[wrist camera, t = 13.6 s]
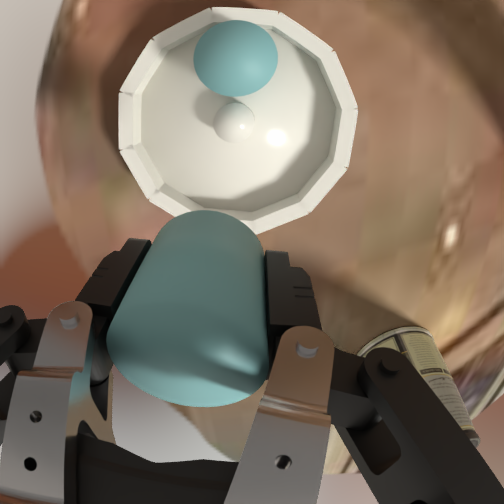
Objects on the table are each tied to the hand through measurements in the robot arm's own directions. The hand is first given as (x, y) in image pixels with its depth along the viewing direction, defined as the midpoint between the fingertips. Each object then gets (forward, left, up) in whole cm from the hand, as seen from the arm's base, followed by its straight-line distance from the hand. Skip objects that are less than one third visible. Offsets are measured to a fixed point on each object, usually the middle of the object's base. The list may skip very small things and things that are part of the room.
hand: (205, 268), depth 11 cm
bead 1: (0, 0, 0) cm, 0 cm away
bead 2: (0, -7, -11) cm, 13 cm away
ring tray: (0, -4, -12) cm, 12 cm away
